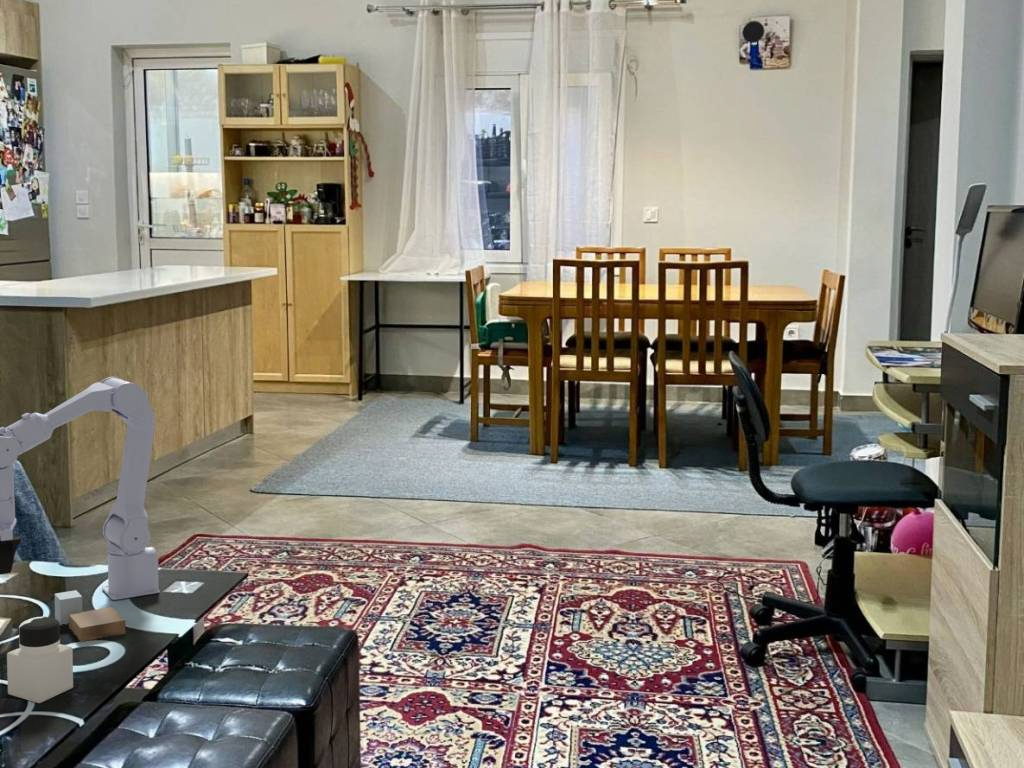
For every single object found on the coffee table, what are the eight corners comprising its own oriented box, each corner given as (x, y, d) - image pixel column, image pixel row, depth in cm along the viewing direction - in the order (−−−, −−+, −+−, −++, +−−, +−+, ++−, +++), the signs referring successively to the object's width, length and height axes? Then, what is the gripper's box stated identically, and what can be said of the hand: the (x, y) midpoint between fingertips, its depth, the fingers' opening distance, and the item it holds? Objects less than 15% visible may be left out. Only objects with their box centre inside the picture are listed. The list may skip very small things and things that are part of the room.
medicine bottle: (74, 688, 182) (72, 618, 181) (39, 704, 176) (37, 632, 174) (42, 678, 185) (40, 610, 184) (6, 694, 179) (4, 623, 177)
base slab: (112, 622, 213) (112, 607, 212) (125, 635, 206) (125, 620, 206) (68, 629, 208) (68, 614, 207) (80, 643, 202) (80, 627, 201)
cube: (76, 615, 214) (76, 590, 214) (82, 621, 211) (82, 596, 210) (55, 618, 212) (54, 593, 211) (60, 625, 209) (60, 599, 208)
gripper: (-33, 491, 212) (-31, 560, 214) (-18, 509, 200) (-16, 582, 202) (7, 487, 216) (9, 554, 218) (23, 504, 204) (26, 575, 206)
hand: (0, 567), depth 210 cm, fingers open, 7 cm apart
